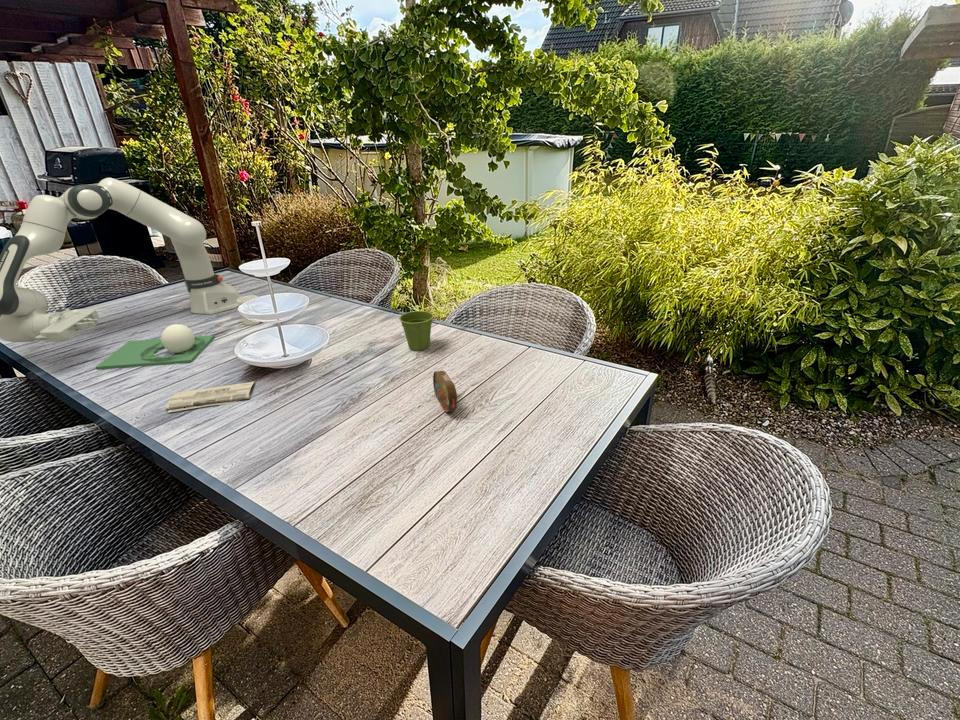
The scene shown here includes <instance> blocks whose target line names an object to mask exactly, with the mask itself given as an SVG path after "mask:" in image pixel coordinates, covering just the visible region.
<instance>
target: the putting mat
mask: <svg viewBox="0 0 960 720" xmlns="http://www.w3.org/2000/svg"><path fill="white" fill-rule="evenodd" d="M194 336H195V341H194V344H193V346H192V347H191V348H190V349H189V350H188V351H185V352H183V353H176V354H173V355H168V356H165V355H164V356H159V355H156V354H157V353H158V352H159V350H160V351H162V350H164V349H166V348H165V347H164V346H163V344H162V342H161V338H154V339H153V338H152V339H140V340H139V339H138V340H128V341H127V342H126V343H125V344H123V345H122V346H120V348H118V349H116V351H114V352H112V354H110V355H109V356H108V357H107V358H104V360H103V361H101V362H100V363H99V364H97V365H95V369H98V370H108V369H109V370H110V369H123V368H137V367H152V366H162V365H163V366H164V365H166V364H167V365H176V364H175V363H181V364H191V362H192V361H193V360H194V359H195V358H196V359H197V357H198V356H200V354H201V353H202V352H203V351H204V350H205V349H206V348H207V347H208V346H209V345H210V344H211V342H213V340H215V338H216V337H215V335H214V334H213V335H211V334H210V335H209V334H208V335H197V336H196V335H194ZM154 354H155V355H154ZM196 359H195V360H196ZM195 360H194V361H195ZM192 363H193V362H192Z"/></svg>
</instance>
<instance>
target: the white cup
mask: <svg viewBox="0 0 960 720" xmlns="http://www.w3.org/2000/svg"><path fill="white" fill-rule="evenodd" d="M255 298H259V296H258V295H256V294H255V295H244V296H243V297H240V298H238V299H237V303H238V307H237V308H239V306H240V305H242V304H243V303H245V302H247V301H249V300H252V299H255ZM241 318H242V320H243V323H244V325H246V326H254V325H258V324H260V323H258V322H253V321H251V320H248V319H246V318H244V317H242V316H241Z"/></svg>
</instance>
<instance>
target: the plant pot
mask: <svg viewBox="0 0 960 720" xmlns="http://www.w3.org/2000/svg"><path fill="white" fill-rule="evenodd" d="M433 318H435V315H434V313H433V312H430V311H427V310H412V311H408V312H405V313H402V314H401V315H399V317H398V320H399V321H400V323H401V326H402V327H403V330H404V334H405V338H406V341H407V346H408V348H409V349H410V350H412V351H420V350H421V351H422V350H424V351H425V350H427V349H428V348H429V347H430V344H431V332H432V330H431V329H432V323H433Z"/></svg>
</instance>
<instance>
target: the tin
mask: <svg viewBox="0 0 960 720" xmlns="http://www.w3.org/2000/svg"><path fill="white" fill-rule="evenodd" d="M432 381H433V382H432V384H433V392H434V395H435V397H436V399H437V401H438V402H439V404H440V406H441V408H442V409H443V411H444V412H445V413H449V412H454V411H456V410H457V408H458V407H457V406H458V405H457V404H458V403H457V402H458V394H457V393H458V392H457V388H456V385H455V383H454V382H453V381H452V379H451V377H450V376H449V375H448V374H447V372H446V371H445V370H438V371H437V370H436V371H434V372H433V374H432Z"/></svg>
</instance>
